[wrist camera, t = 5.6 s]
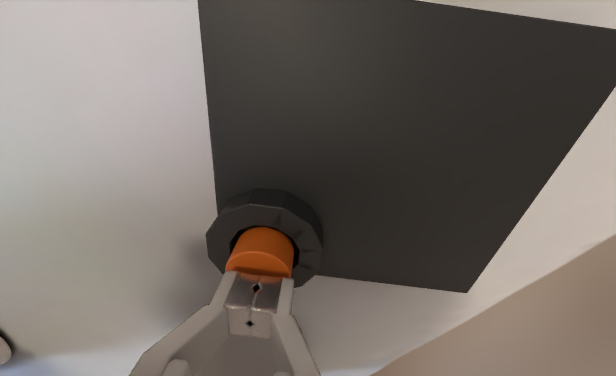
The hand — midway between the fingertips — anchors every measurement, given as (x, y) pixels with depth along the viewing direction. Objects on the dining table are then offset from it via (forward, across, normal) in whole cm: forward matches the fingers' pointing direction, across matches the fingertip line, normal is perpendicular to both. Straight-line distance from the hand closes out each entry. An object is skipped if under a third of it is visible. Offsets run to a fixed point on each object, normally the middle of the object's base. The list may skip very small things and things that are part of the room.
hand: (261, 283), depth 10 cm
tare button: (+2, 0, 0) cm, 2 cm away
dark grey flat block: (+5, +5, +4) cm, 8 cm away
